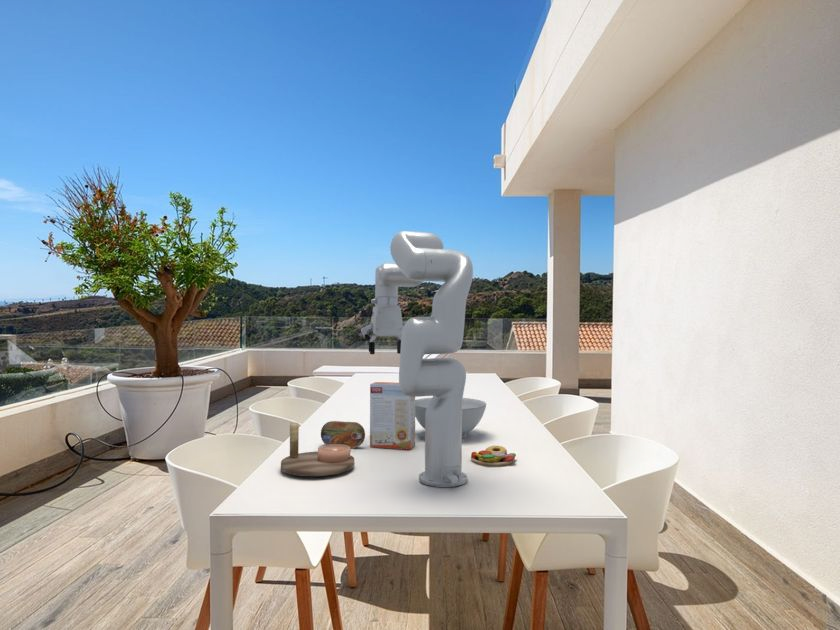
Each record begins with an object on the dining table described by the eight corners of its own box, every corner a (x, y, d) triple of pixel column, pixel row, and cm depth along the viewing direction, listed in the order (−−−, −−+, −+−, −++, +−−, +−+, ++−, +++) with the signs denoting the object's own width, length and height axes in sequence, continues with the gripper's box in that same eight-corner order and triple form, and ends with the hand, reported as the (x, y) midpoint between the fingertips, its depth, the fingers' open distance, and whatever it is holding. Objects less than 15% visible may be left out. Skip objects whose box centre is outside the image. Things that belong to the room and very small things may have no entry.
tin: (320, 446, 175) (320, 420, 175) (324, 444, 178) (324, 418, 178) (362, 449, 171) (362, 423, 171) (366, 447, 174) (366, 421, 174)
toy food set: (499, 454, 167) (499, 444, 167) (525, 464, 155) (525, 453, 155) (462, 459, 161) (462, 448, 161) (486, 470, 149) (486, 458, 149)
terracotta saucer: (353, 461, 148) (354, 449, 148) (321, 464, 144) (321, 452, 144) (345, 453, 156) (345, 442, 156) (314, 456, 153) (314, 445, 153)
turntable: (363, 471, 143) (363, 430, 143) (286, 479, 135) (287, 436, 135) (344, 453, 161) (344, 417, 162) (276, 460, 154) (276, 421, 154)
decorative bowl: (430, 426, 209) (430, 395, 209) (495, 432, 198) (496, 400, 198) (397, 439, 185) (397, 404, 185) (470, 448, 173) (470, 411, 174)
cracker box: (415, 446, 176) (416, 382, 176) (410, 450, 170) (411, 384, 170) (375, 443, 180) (375, 381, 180) (369, 447, 174) (369, 383, 174)
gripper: (364, 302, 172) (364, 355, 172) (414, 302, 179) (414, 354, 179) (358, 302, 179) (358, 353, 179) (406, 303, 186) (406, 352, 186)
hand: (386, 353), depth 179 cm, fingers open, 9 cm apart
